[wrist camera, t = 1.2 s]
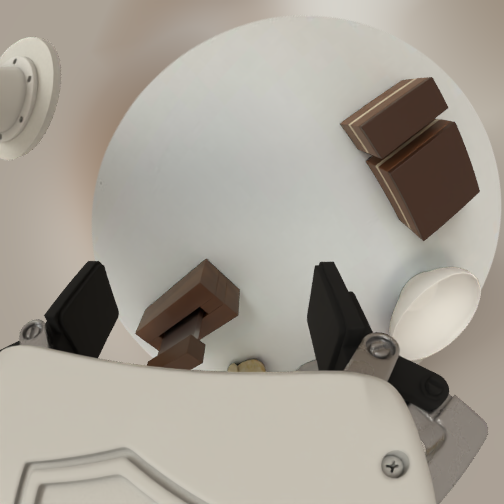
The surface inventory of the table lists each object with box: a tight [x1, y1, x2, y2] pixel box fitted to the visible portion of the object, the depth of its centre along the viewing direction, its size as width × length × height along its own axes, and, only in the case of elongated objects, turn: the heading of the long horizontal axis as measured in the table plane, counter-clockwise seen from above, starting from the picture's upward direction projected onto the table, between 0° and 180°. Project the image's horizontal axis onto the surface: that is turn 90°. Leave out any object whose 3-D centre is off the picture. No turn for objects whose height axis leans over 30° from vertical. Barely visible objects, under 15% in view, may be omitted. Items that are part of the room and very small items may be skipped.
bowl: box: [389, 267, 481, 360], centre depth 32 cm, size 16×16×7 cm
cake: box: [366, 119, 480, 241], centre depth 24 cm, size 9×10×6 cm
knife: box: [147, 307, 205, 370], centre depth 30 cm, size 2×8×12 cm, turn 131°
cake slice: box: [340, 77, 448, 159], centre depth 21 cm, size 4×10×6 cm, turn 131°
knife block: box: [135, 259, 239, 351], centre depth 33 cm, size 6×13×5 cm, turn 131°
